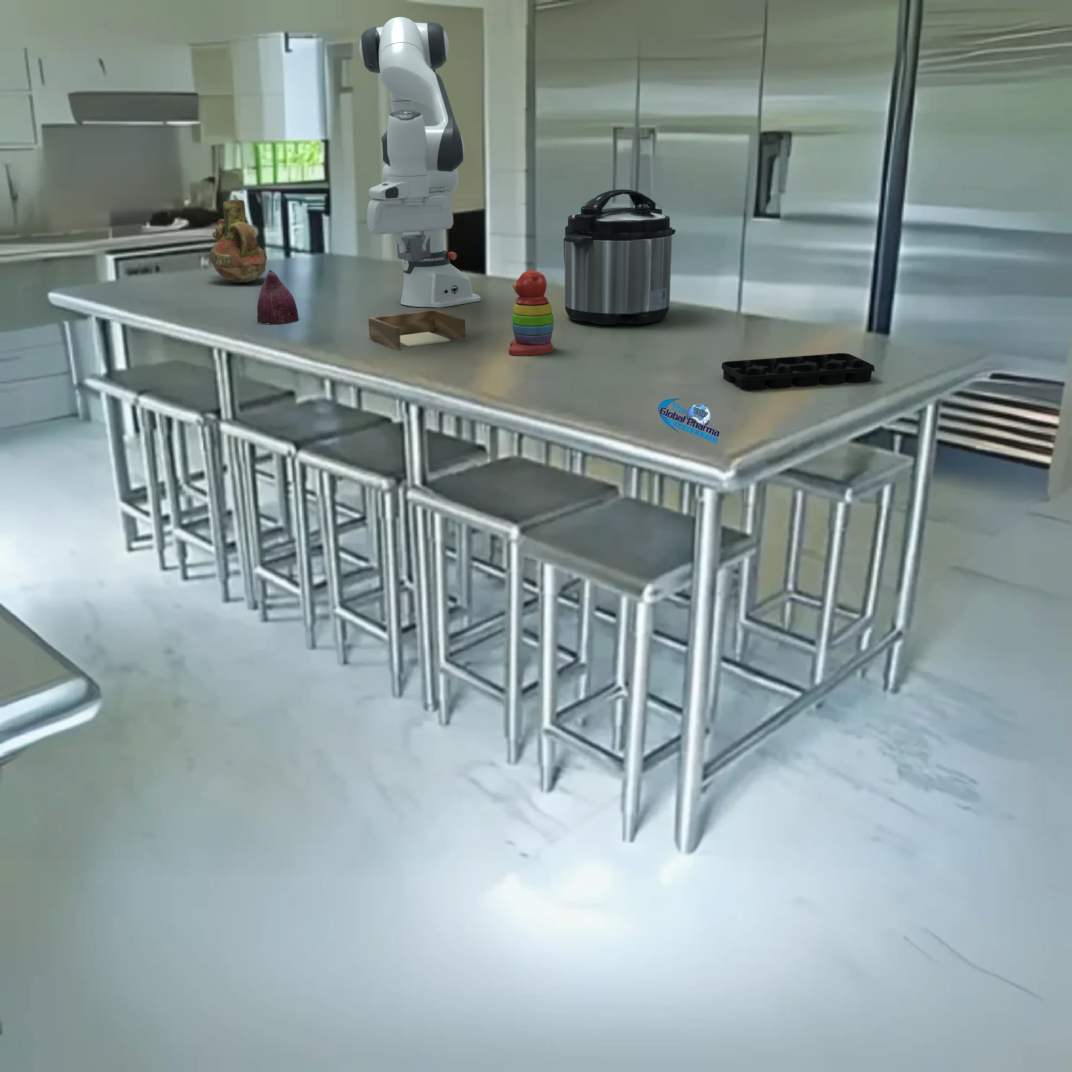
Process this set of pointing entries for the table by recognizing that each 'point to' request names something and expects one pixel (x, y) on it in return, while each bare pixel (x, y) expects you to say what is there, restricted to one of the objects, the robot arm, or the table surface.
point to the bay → (414, 326)
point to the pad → (421, 339)
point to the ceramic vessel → (237, 246)
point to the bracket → (414, 248)
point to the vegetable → (275, 302)
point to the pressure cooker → (618, 261)
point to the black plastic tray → (797, 371)
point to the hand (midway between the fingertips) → (412, 252)
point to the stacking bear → (531, 316)
